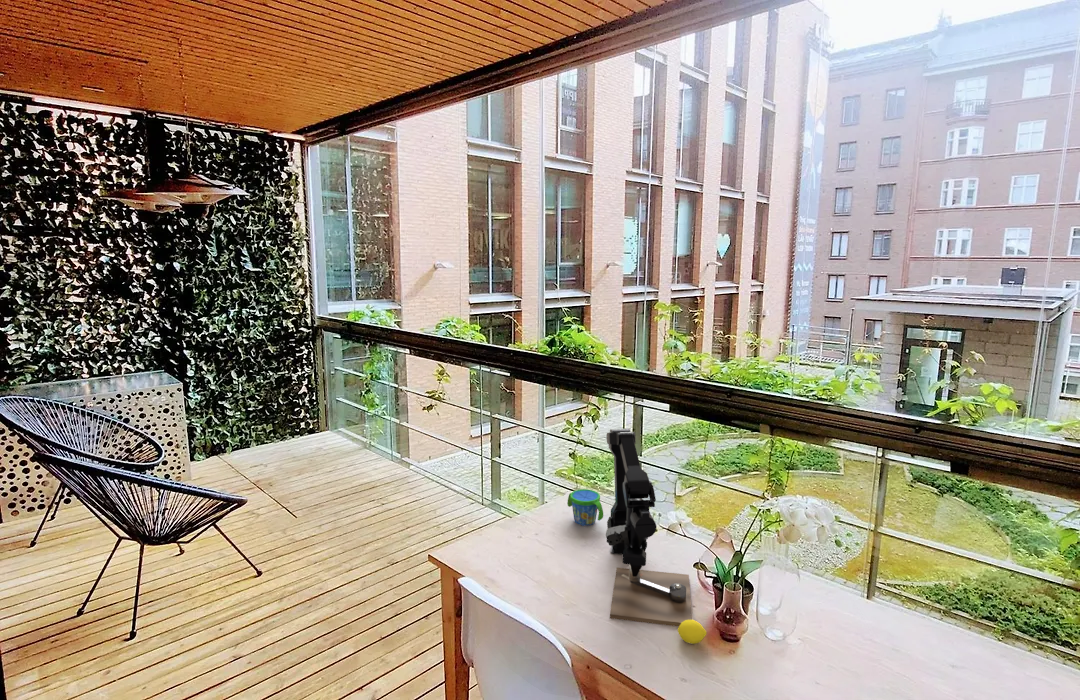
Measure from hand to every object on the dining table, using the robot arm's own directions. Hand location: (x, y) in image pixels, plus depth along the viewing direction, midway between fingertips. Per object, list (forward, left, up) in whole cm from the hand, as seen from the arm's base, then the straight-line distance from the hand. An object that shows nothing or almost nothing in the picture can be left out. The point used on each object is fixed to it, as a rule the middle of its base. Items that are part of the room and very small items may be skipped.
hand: (635, 572), depth 162 cm
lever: (+3, +6, -3) cm, 7 cm away
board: (+4, +5, -5) cm, 8 cm away
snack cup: (-37, -19, -5) cm, 42 cm away
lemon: (+21, +15, -5) cm, 26 cm away
